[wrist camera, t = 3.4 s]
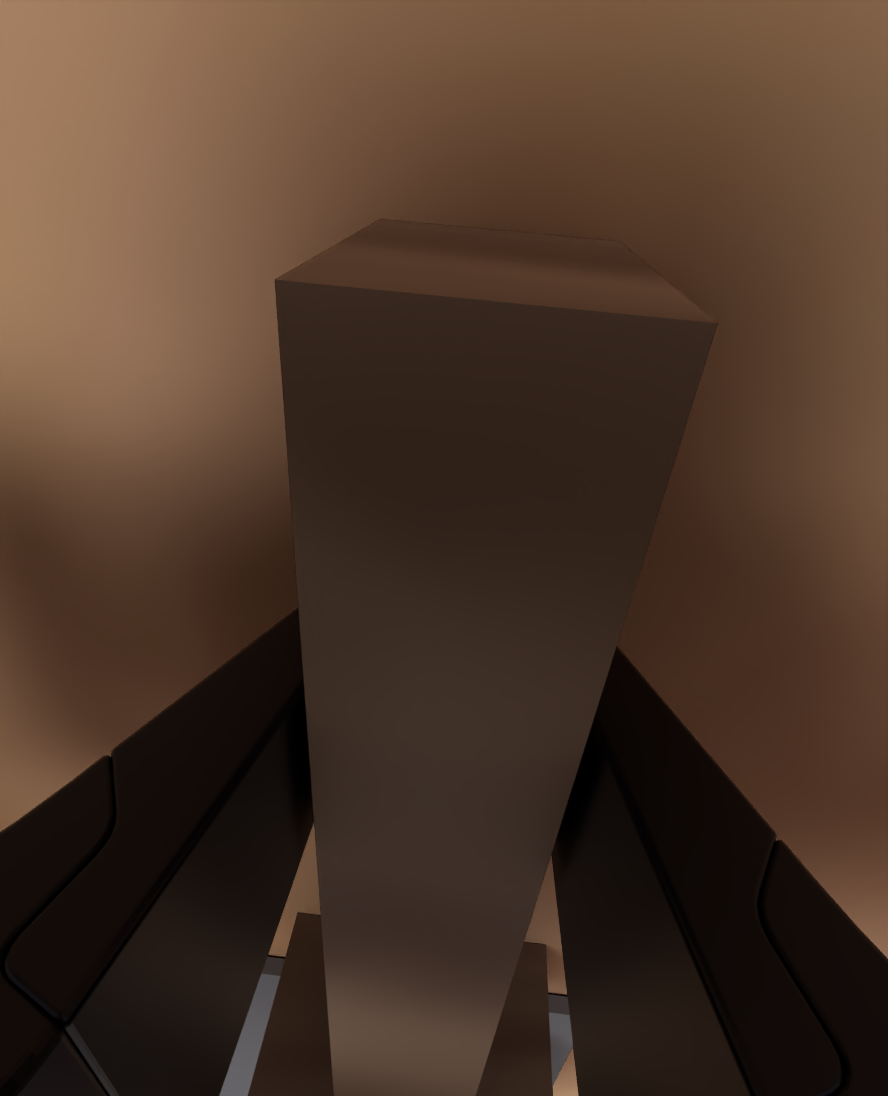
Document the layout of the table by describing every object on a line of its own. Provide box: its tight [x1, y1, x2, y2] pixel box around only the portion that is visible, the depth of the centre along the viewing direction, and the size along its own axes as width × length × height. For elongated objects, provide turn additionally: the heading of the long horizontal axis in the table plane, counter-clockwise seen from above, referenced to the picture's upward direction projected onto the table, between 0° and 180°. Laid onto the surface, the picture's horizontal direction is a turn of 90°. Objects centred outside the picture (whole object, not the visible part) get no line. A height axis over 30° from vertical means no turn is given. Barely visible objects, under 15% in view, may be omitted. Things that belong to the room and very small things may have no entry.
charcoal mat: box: [219, 957, 573, 1096], centre depth 19 cm, size 11×11×1 cm
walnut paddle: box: [248, 219, 718, 1096], centre depth 9 cm, size 16×6×5 cm, turn 176°
